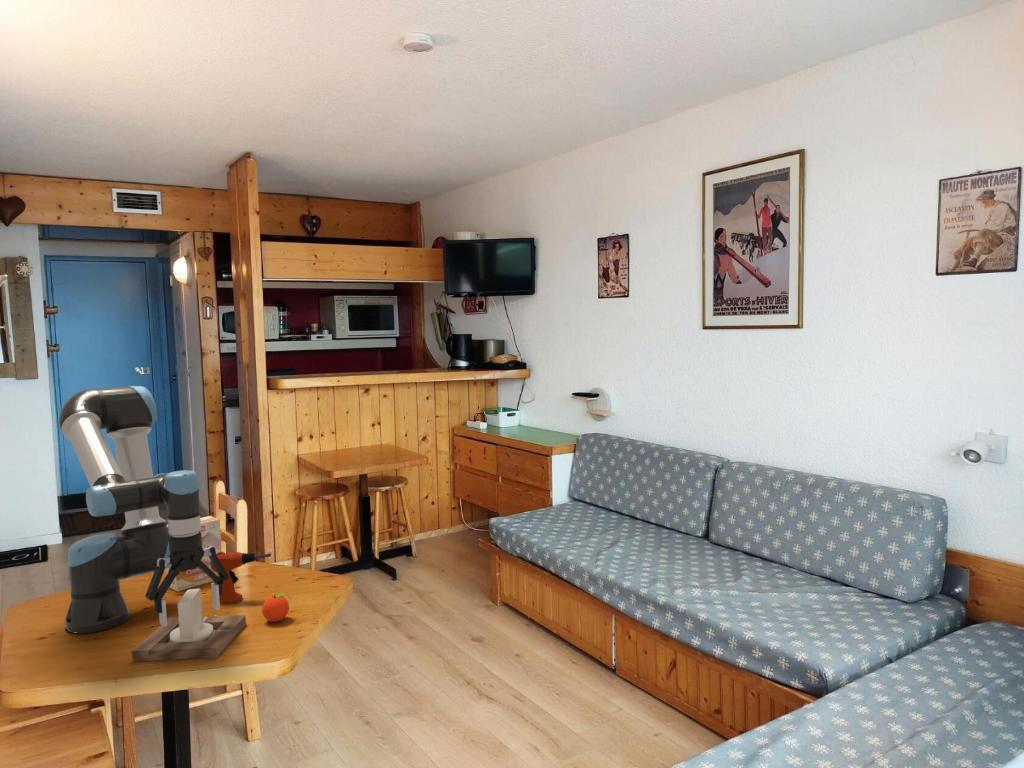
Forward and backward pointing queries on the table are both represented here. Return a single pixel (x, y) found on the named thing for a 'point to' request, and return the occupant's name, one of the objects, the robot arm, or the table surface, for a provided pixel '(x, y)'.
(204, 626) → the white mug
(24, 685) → the table surface
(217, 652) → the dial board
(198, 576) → the coffeecake box
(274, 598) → the clementine
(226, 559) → the toy drill
